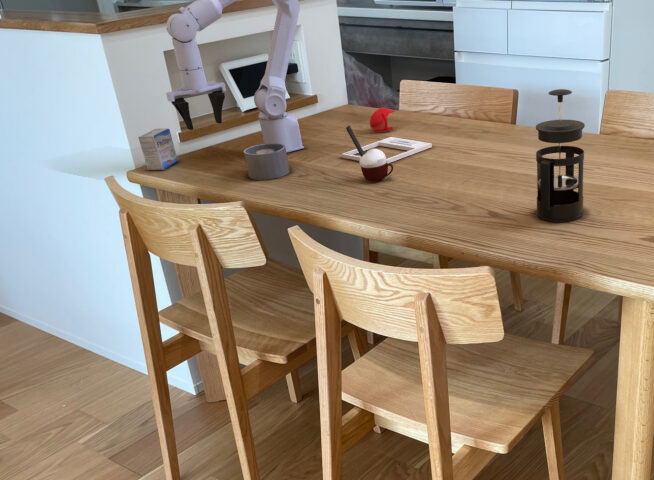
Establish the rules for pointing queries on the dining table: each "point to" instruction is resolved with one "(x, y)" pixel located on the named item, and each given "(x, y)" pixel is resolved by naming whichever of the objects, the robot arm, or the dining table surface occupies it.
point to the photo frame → (392, 143)
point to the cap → (380, 120)
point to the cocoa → (371, 161)
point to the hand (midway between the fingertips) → (204, 126)
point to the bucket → (266, 162)
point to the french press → (558, 190)
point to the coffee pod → (264, 151)
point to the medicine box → (158, 149)
